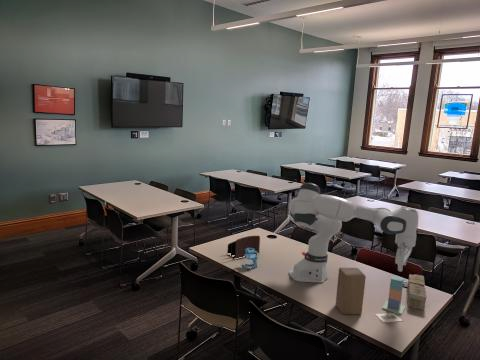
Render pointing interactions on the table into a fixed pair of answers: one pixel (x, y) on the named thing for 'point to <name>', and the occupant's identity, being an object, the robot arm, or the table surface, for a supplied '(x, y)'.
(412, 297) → the block tower
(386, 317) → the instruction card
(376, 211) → the robot arm
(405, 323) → the table surface
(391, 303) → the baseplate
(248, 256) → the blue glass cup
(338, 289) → the wooden block
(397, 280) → the teal cube
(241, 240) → the letter holder
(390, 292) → the orange cube
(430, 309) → the table surface
